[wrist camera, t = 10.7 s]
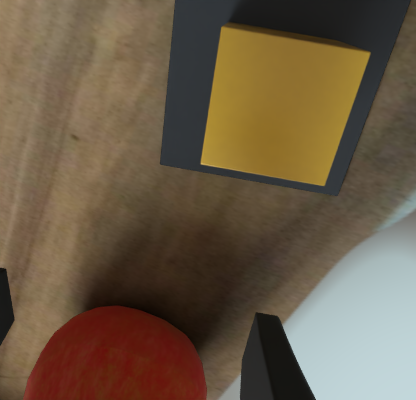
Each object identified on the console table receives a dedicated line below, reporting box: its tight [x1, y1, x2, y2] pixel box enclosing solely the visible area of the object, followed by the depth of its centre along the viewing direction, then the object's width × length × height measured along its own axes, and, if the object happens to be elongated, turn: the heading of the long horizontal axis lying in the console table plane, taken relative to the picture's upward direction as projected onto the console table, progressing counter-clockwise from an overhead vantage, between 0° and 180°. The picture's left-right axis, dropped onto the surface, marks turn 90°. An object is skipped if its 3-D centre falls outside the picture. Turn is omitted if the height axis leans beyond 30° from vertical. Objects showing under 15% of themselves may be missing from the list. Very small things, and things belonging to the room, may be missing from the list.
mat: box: [160, 0, 411, 196], centre depth 16 cm, size 9×9×1 cm
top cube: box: [201, 22, 371, 186], centre depth 13 cm, size 4×4×4 cm
